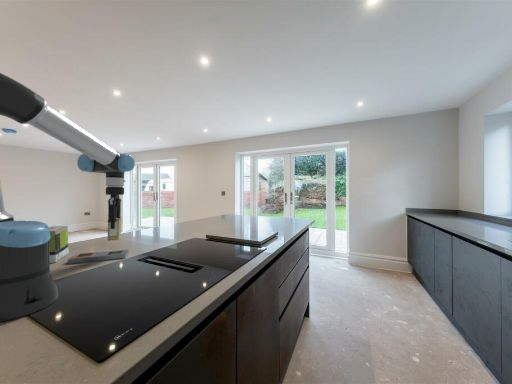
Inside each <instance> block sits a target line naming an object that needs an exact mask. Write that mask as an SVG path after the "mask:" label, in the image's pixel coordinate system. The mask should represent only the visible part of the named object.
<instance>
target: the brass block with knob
mask: <svg viewBox="0 0 512 384" xmlns="http://www.w3.org/2000/svg"><path fill="white" fill-rule="evenodd" d="M116 222H117V235H116V236H109V234H110V222H107V241H108V242H110V241H119V240H120V239H122V218H116Z"/></svg>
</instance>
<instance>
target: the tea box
mask: <svg viewBox="0 0 512 384" xmlns="http://www.w3.org/2000/svg"><path fill="white" fill-rule="evenodd" d="M48 227H49V231H50V264H53V263H54V264H55V263H57V262H59V261H60V260H61V259H63V258H64V257H65V256H67V255H68V254H69V252H70V251H69V226H68V225H56V226H54V225H53V226H48Z"/></svg>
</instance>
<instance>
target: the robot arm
mask: <svg viewBox="0 0 512 384" xmlns="http://www.w3.org/2000/svg"><path fill="white" fill-rule="evenodd" d="M0 116H3V117H6V118H8V119H11V120H13V121H15V122H17V123H19V124H22V125H24V124H25V125H27V124H28V125H31V126H32V127H34V128H36V129H37V130H38V131H40V132H41V131H42V132H43V133H45V134H47V135H48V136H50V137H52V138H54V139H56V140H57V141H59V142H61V143H63V144H65V145H66V146H68V147H70V148H72V149H74V150H76V151H78V152H79V153H80V155H79V157H78V158H77V159H76V160H77V163H76V164H77V168H78V169H79V170H80V171H82V172H87V173H97V174H105V195H107V196H109V195H110V198H109V199H108V200H107V203H108V208H107V209H108V212H107V216H108V217H107V218H108V219H107V221H106V222H107V223H108V222H110V234H109V236H116V235H117V222H116V218H121V217H122V215H121V211H122V209H121V207H122V206H121V205H122V199H121V198H120V196H123V195H125V183H126V182H127V181H126V180H125V173H127V172H131V171H132V170H134V168H135V166H136V162H135V158H134V157H133V156H132V155H131V154H128V153H121V152H119V151H117V150H115V148H112V147H111V146H109V145H108V144H107V143H105V142H104V141H102V140H100V139H99V138H97V137H96V136H95V135H93V134H92V133H89V131H87V130H85V129H84V128H83V127H82V126H80V125H78V124H76V123H75V122H73V121H72V120H71V119H69V118H68V117H66V116H65V115H63V114H61V113H60V112H58V111H57V110H56V109H54V108H53V107H51V106H49V105H48V104H47V100H46V99H45V98H44V97H42V96H41V95H39V94H38V93H36V92H35V91H34V90H32V89H31V88H29V87H28V86H26V85H24V84H22V83H20V82H19V81H17V80H15V79H13V78H11V77H9V76H8V75H5V74H3V73H1V72H0ZM81 153H82V154H81ZM2 190H3V189H2V182H1V181H0V323H1V322H5V321H6V322H7V321H10V320H14V319H18V318H21V317H25V316H27V315H31V314H33V313H36V312H38V311H40V310H43V309H45V308H47V307H48V306H50V305H52V304H53V303H55V302H56V301H57V300H58V298H59V290H58V287H57V285H56V283H55V281H54V279H53V277H52V275H51V272H50V271H51V270H50V269H51V268H50V266H51V265H50V264H51V263H50V231H49V227H50V226H49V225H48V224H47V223H45V222H42V221H36V220H15V218H14V215H12V213H8V212H6V210H5V204H4V197H3V191H2ZM121 219H122V218H121Z"/></svg>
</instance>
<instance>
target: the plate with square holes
mask: <svg viewBox="0 0 512 384" xmlns="http://www.w3.org/2000/svg"><path fill="white" fill-rule="evenodd" d="M129 254H130V249H121V250H119V249H118V250H109V251H92V252H79V253H76V254H74V255H72V256H70V257H69V258H67V265H70V264H81V263H89V262H101V261H102V262H103V261H110V260H111V261H112V260H118V259H119V260H122V259H126V258H127V257H128V256H129Z"/></svg>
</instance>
